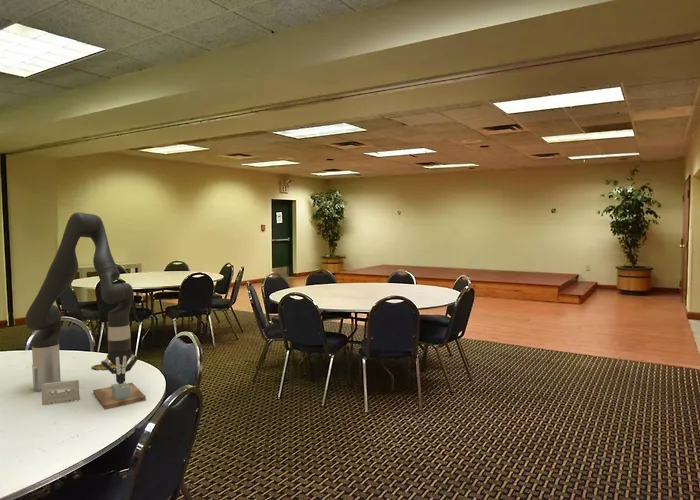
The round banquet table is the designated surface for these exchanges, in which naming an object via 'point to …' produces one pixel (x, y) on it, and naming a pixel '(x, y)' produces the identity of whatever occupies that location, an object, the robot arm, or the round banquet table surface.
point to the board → (109, 401)
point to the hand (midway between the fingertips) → (120, 383)
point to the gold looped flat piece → (101, 367)
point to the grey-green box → (120, 391)
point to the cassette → (60, 397)
